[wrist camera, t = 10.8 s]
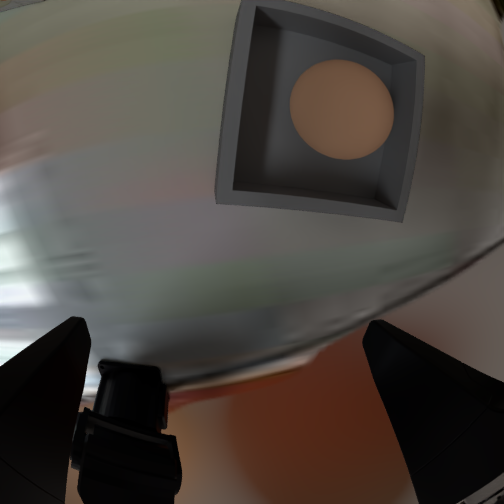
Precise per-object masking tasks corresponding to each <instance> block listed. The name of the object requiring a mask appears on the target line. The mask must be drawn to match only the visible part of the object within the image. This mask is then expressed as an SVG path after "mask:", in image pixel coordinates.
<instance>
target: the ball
mask: <svg viewBox="0 0 504 504" xmlns="http://www.w3.org/2000/svg"><path fill="white" fill-rule="evenodd" d="M290 114H291V118H292V121H293V124H294V126H295V129H296V131H297V132H298V134H299V135H300V137H301V138H302V139H303V140H304V141H305V142H306V143H307V144H308V145H309V146H310V147H312V148H313V149H314V150H316V151H317V152H319V153H321V154H323V155H326V156H328V157H331V158H335V159H343V160H351V159H357V158H361V157H364V156H367V155H369V154H371V153H373V152H374V151H376V150H377V149H378V148H379V147H380V146H381V145H382V144H383V143H384V142H385V141H386V139H387V137H388V136H389V134H390V132H391V129H392V126H393V121H394V107H393V102H392V98H391V96H390V93H389V91H388V89H387V88H386V86H385V84H384V83H383V82H382V81H381V79H380V78H379V77H378V76H377V75H376V74H375V73H373V72H372V71H371V70H369V69H368V68H366V67H364V66H362V65H360V64H358V63H355V62H352V61H347V60H327V61H323V62H320V63H317V64H315V65H313V66H311V67H310V68H309V69H307V70H306V71H305V72H304V73H303V74H301V75H300V77H299V78H298V80H297V81H296V83H295V85H294V87H293V89H292V92H291V96H290Z"/></svg>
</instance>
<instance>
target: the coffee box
mask: <svg viewBox="0 0 504 504" xmlns="http://www.w3.org/2000/svg"><path fill="white" fill-rule="evenodd" d="M42 1H44V0H0V12H2V11H6V10H9V9H13V8H16V7H20V6H24V5H28V4H33V3H37V2H42Z"/></svg>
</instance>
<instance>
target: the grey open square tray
mask: <svg viewBox="0 0 504 504" xmlns="http://www.w3.org/2000/svg"><path fill="white" fill-rule="evenodd" d="M327 60H347V61H352V62H355V63H358V64H360V65H362V66H364V67H366V68H368V69H369V70H371V71H372V72H373V73H375V74H376V75H377V76H378V77H379V78H380V79H381V81H382V82H383V83H384V84H385V86H386V88H387V89H388V91H389V93H390V96H391V98H392V102H393V107H394V121H393V126H392V129H391V132H390V134H389V136H388V137H387V139H386V141H385V142H384V143H383V144H382V145H381V146H380V147H379V148H378V149H377V150H376V151H374V152H373V153H371V154H369V155H367V156H364V157H361V158H357V159H351V160H343V159H335V158H331V157H328V156H326V155H323V154H321V153H319V152H317V151H316V150H314V149H313V148H312V147H310V146H309V145H308V144H307V143H306V142H305V141H304V140H303V139H302V138H301V137H300V135H299V134H298V132H297V131H296V129H295V126H294V124H293V121H292V118H291V114H290V96H291V92H292V89H293V87H294V85H295V83H296V81H297V80H298V78H299V77H300V75H301V74H303V73H304V72H305V71H306V70H307V69H309V68H310V67H311V66H313V65H315V64H317V63H320V62H323V61H327ZM424 74H425V56H424V55H423V54H421V53H419V52H418V51H416V50H414V49H412V48H410V47H409V46H407V45H405V44H403V43H401V42H399V41H397V40H395V39H393V38H391V37H389V36H387V35H385V34H383V33H381V32H378V31H376V30H374V29H372V28H369V27H367V26H365V25H362V24H360V23H357V22H355V21H352V20H349V19H347V18H344V17H341V16H338V15H335V14H332V13H329V12H326V11H323V10H320V9H316V8H313V7H309V6H305V5H302V4H298V3H293V2H289V1H285V0H241V3H240V6H239V9H238V13H237V16H236V22H235V28H234V34H233V40H232V47H231V53H230V60H229V67H228V74H227V81H226V89H225V96H224V104H223V112H222V121H221V130H220V139H219V148H218V158H217V168H216V179H215V199H216V204H226V205H241V206H255V207H268V208H280V209H291V210H302V211H312V212H322V213H331V214H340V215H348V216H357V217H365V218H372V219H380V220H387V221H394V222H401V223H402V222H403V218H404V214H405V210H406V206H407V202H408V197H409V193H410V188H411V183H412V178H413V173H414V168H415V162H416V156H417V150H418V143H419V135H420V127H421V118H422V108H423V95H424Z"/></svg>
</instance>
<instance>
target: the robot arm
mask: <svg viewBox="0 0 504 504" xmlns="http://www.w3.org/2000/svg"><path fill="white" fill-rule="evenodd" d="M362 344H363V348H364V351H365V354H366V357H367V360H368V363H369V366H370V370H371V373H372V376H373V379H374V382H375V384H376V387H377V389H378V392H379V394H380V396H381V399H382V401H383V404H384V406H385V409H386V411H387V414H388V416H389V419H390V421H391V424H392V427H393V429H394V432H395V434H396V437H397V440H398V442H399V445H400V448H401V451H402V453H403V456H404V459H405V462H406V465H407V467H408V470H409V474H410V477H411V480H412V483H413V486H414V489H415V493H416V496H417V499H418V502H419V504H456V503H458V502H460V501H462V500H464V501H463V502H461V503H460V504H504V382H502V381H499V380H497V379H495V378H492V377H490V376H488V375H486V374H484V373H482V372H480V371H478V370H476V369H474V368H472V367H470V366H468V365H466V364H464V363H462V362H461V361H459V360H457V359H455V358H453V357H451V356H450V355H448V354H446V353H444V352H442V351H440V350H438V349H437V348H435V347H433V346H431V345H429V344H427V343H425V342H423V341H421V340H420V339H418V338H416V337H414V336H412V335H410V334H409V333H407V332H405V331H403V330H401V329H399V328H397V327H395V326H393V325H392V324H390V323H388V322H386V321H384V320H381V319H379V320H372V321H371V322H370V323H369V325H368V328H367V330H366V333H365V335H364V337H363V341H362ZM90 349H91V338H90V334H89V331H88V328H87V324H86V321H85V319H84V318H82V317H75V316H72V317H70V318H69V319H67V320H66V321H64V322H63V323H61V324H60V325H58V326H57V327H55V328H54V329H52V330H51V331H49V332H48V333H46V334H45V335H44V336H42V337H41V338H39V339H38V340H36V341H35V342H33V343H32V344H31V345H29V346H28V347H26V348H25V349H24V350H22V351H21V352H19V353H18V354H17V355H15V356H14V357H12V358H11V359H10V360H8V361H7V362H6V363H4V364H3V365H2V366H0V504H65V503H64V502H65V494H66V483H67V473H68V466H69V458H70V460H72V462H71V468H73V469H76V470H78V471H79V479H78V486H77V490H78V493H79V495H80V497H81V499H82V501H83V503H84V504H174V497H175V495H176V494H177V493H178V492H179V490H180V487H181V482H182V468H181V462H180V457H179V452H178V446H177V441H176V436H174V435H166V434H162V433H161V429H166V428H167V422H168V421H167V420H168V401H169V398H168V392H167V386H166V385H165V384H164V383H162V377H161V371H160V369H159V368H157V367H150V366H138V365H128V364H119V363H111V362H104V361H100V362H99V363H98V369H99V372H100V374H101V380H100V384H99V387H98V391H97V394H96V398H95V402H94V406H93V410H90V409H89V408H87V407H84V411H83V412H78V411H79V406H80V402H81V398H82V394H83V389H84V384H85V378H86V371H87V365H88V359H89V354H90Z"/></svg>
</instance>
